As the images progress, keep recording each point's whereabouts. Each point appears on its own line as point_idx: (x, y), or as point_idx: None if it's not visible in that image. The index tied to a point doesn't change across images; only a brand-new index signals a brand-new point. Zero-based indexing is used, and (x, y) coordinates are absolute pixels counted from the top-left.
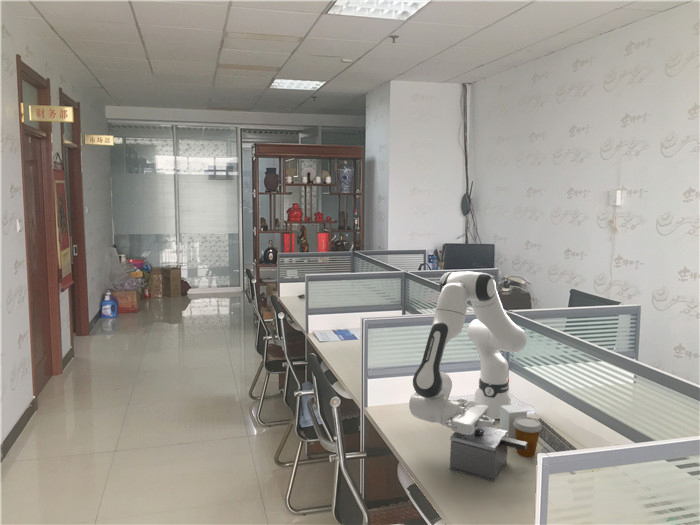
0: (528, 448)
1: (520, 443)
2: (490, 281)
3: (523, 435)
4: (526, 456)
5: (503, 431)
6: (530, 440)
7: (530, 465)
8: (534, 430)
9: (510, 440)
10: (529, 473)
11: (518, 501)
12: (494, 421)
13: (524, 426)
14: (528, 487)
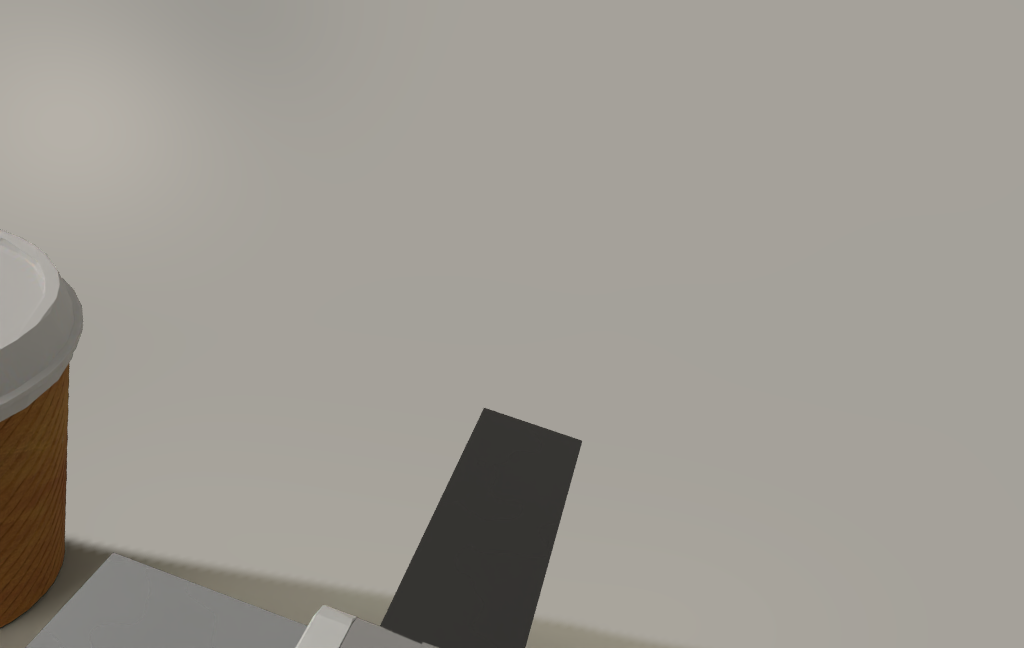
0: (62, 500)
1: (542, 468)
2: None
3: (22, 443)
4: (56, 568)
5: (131, 611)
6: (65, 425)
7: (218, 569)
8: (77, 311)
9: (496, 556)
10: (366, 600)
11: None
12: (381, 629)
13: (14, 349)
14: (599, 643)
